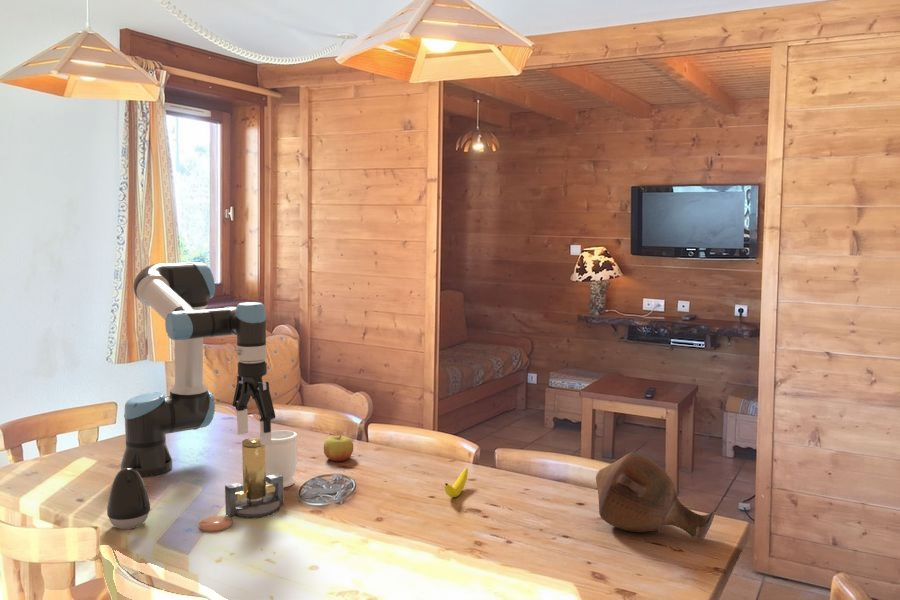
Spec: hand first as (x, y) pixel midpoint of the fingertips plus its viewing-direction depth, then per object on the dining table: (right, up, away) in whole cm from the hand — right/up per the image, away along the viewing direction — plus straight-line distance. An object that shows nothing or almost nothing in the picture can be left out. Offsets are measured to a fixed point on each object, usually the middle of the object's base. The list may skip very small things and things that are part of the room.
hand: (254, 438), depth 210 cm
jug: (+104, -22, -12) cm, 107 cm away
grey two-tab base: (0, -20, +2) cm, 20 cm away
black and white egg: (-30, -21, -9) cm, 37 cm away
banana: (+55, -19, +15) cm, 60 cm away
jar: (+2, -18, +23) cm, 29 cm away
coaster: (-8, -21, -9) cm, 24 cm away
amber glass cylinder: (0, -16, +2) cm, 16 cm away
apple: (+16, -15, +46) cm, 51 cm away
